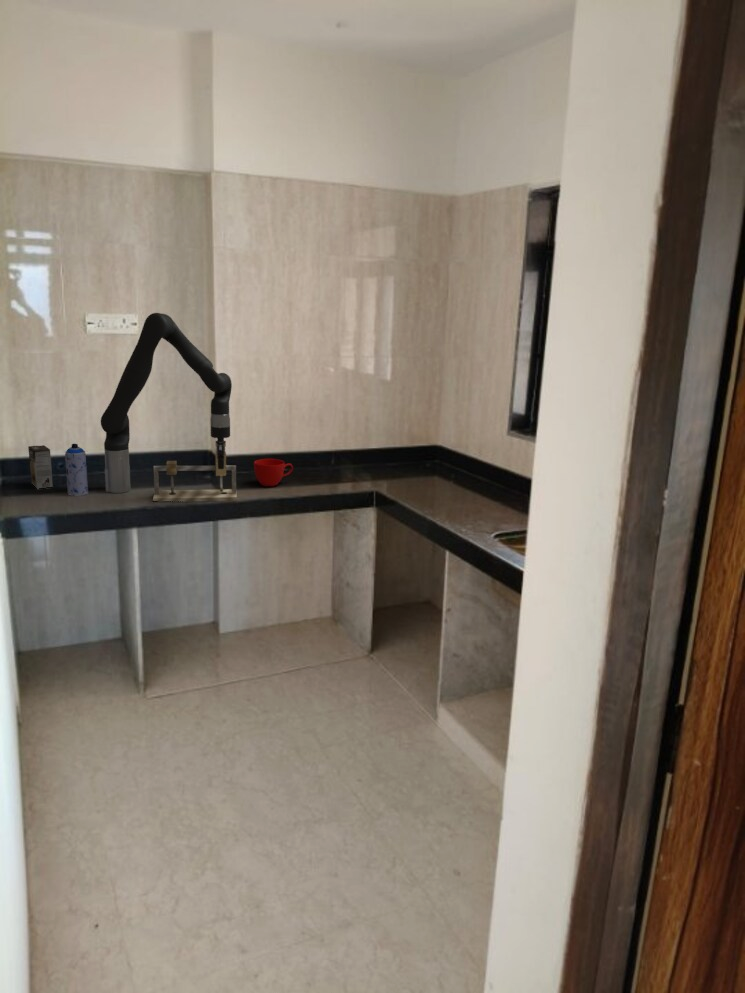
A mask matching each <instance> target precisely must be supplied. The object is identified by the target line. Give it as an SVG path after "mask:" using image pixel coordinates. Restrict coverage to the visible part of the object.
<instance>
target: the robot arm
mask: <svg viewBox="0 0 745 993" xmlns="http://www.w3.org/2000/svg"><path fill="white" fill-rule="evenodd" d="M161 339H163V340H164V341H166V342H168V343H169V344H170V345H171V346H172V347H173V348H174V349H175V350H176V351H177V352H178V353H179V355H180V356H181V358H182V359H183V360H184V362H185V363H186V365H188V366H189V368H191V369H192V371H194V372H195V373H196V374H197V375H198V376H199V378H200V379H201V381H202V382H203V384H204V385H205V386H206V387H207V389H208V390H210V391H211V392H213V393H214V394H213V398H212V399H211V400H210V422H209V424H210V436H211V438H212V439H213V438H214V439H216V440H215V454H216V453H217V454H218V457H217V459H218V469H224V454H225V452H226V446H227V442H226V440H225V439H227V438H230V436H231V417H230V398H231V393H232V387H233V386H232V380H231V377H230V375H229V374H228V373H225V372H219V373H218V372H217V371H216V370H215V369H214V364H213V363H212V361H211V360H210V359H209V358H207V356H206V355H205V354H204V353H202V352H201V351H200V349H198V348H197V347H196V345H194V343H192V342H191V340H189V339H188V337H186V335H185V334H184V333H183V331H182V330H181V329H180V328H179V326H178V325H177V323H176V322H175V321H174V320H173V319H172V317H171V316H169V315H168V314H166V313H161V312H153V313H151V314H149V315H148V316H147V317H146V318H145V320H144V323H143V326H142V329H141V332H140V335H139V338H138V341H137V343H136V345H135V347H134V349H133V351H132V353H131V355H130V358H129V360H128V361H127V364H126V365H125V367H124V370H123V372H122V374H121V377H120V379H119V380H118V381H119V382H118V384H117V386H116V389H115V391H114V395H113V396H112V399H111V401H110V402H109V403H108V406H107V407H106V408H105V411H103V413H102V416H101V418H100V425H101V429H102V430H103V431H104V432H105V438H104V443H103V447H104V449H103V450H104V464H105V465H104V466H105V467H104V482H105V483H104V485H105V492H106V493H112V494H113V493H115V494H121V493H128V492H130V491H131V490H132V489H131V486H132V484H131V468H130V450H129V448H130V447H129V443H130V435H131V434H130V419H129V415H128V413H129V411H130V408H131V406H132V405H133V403H134V402H135V400H136V399H137V398H138V397H139V395H140V394H141V392H142V390H144V387H145V385H146V383H147V382H148V380H149V377H150V376H151V373H152V370H153V361H154V355H155V354H154V353H155V351H156V349H157V346H159V343H160V341H161ZM219 454H223V456H219Z"/></svg>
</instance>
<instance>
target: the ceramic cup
mask: <svg viewBox="0 0 745 993" xmlns="http://www.w3.org/2000/svg"><path fill="white" fill-rule="evenodd" d="M288 466H290V470H289V471H288V472H286V473H284V471H285V468H286V467H288ZM253 469H254V474H255V477H256V479H257V481H258V483H259V484H260V485H261V486H262V485H263V487H267V486H271V487H276V486H277V485H278V484H279V483H280V482H281V480H282V479H283V477H286V476H288V475H290V474H291V473H292V472H293V469H294V466H293V465H292V463H285V461H284V460H281V459H277V458H261V459H257V460H255V461H253ZM275 485H276V486H275Z"/></svg>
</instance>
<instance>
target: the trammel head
mask: <svg viewBox="0 0 745 993" xmlns="http://www.w3.org/2000/svg"><path fill="white" fill-rule="evenodd" d="M219 456H223V454H219ZM217 457H218V454H217V453H216V452H215V466H216V470H215V477H218V476H219V490H220V492H223V489H224V488H223V487H224V486H223V481H224V480H223V477H226V476H227V470H226V465H227V451H225V454H224V469H218V459H217Z"/></svg>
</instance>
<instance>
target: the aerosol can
mask: <svg viewBox="0 0 745 993" xmlns="http://www.w3.org/2000/svg"><path fill="white" fill-rule="evenodd" d="M64 458H65V459H64V460H65V471H66V473H65V474H66V488H67V493H68V494H71V495H83V494H87V493H88V492H89V486H88V484H89V483H88V474H87V473H88V472H87V471H88V470H87V456H86V451H85V450H84V449H83V448H82V447H80V446H78V443H71V447H69V448H68V449H66V451H65V452H64ZM68 494H67V495H68ZM88 494H89V493H88ZM88 494H87V495H88ZM83 496H84V495H83Z"/></svg>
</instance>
